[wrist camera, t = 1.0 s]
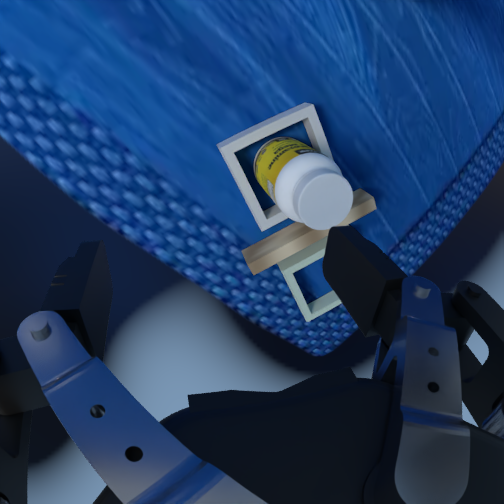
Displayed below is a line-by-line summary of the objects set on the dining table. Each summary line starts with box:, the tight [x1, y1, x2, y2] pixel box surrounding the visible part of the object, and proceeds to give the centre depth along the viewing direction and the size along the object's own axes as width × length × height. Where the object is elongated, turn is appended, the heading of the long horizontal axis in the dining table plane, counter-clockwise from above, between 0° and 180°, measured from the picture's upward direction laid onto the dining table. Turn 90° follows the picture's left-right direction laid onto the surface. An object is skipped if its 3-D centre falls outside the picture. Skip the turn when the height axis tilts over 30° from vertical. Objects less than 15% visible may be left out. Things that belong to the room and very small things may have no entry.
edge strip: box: [242, 188, 376, 275], centre depth 36 cm, size 16×2×3 cm, turn 114°
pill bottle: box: [254, 137, 353, 230], centre depth 28 cm, size 6×6×11 cm
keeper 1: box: [216, 103, 334, 231], centre depth 32 cm, size 10×10×2 cm
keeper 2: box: [277, 225, 349, 322], centre depth 41 cm, size 10×10×2 cm
